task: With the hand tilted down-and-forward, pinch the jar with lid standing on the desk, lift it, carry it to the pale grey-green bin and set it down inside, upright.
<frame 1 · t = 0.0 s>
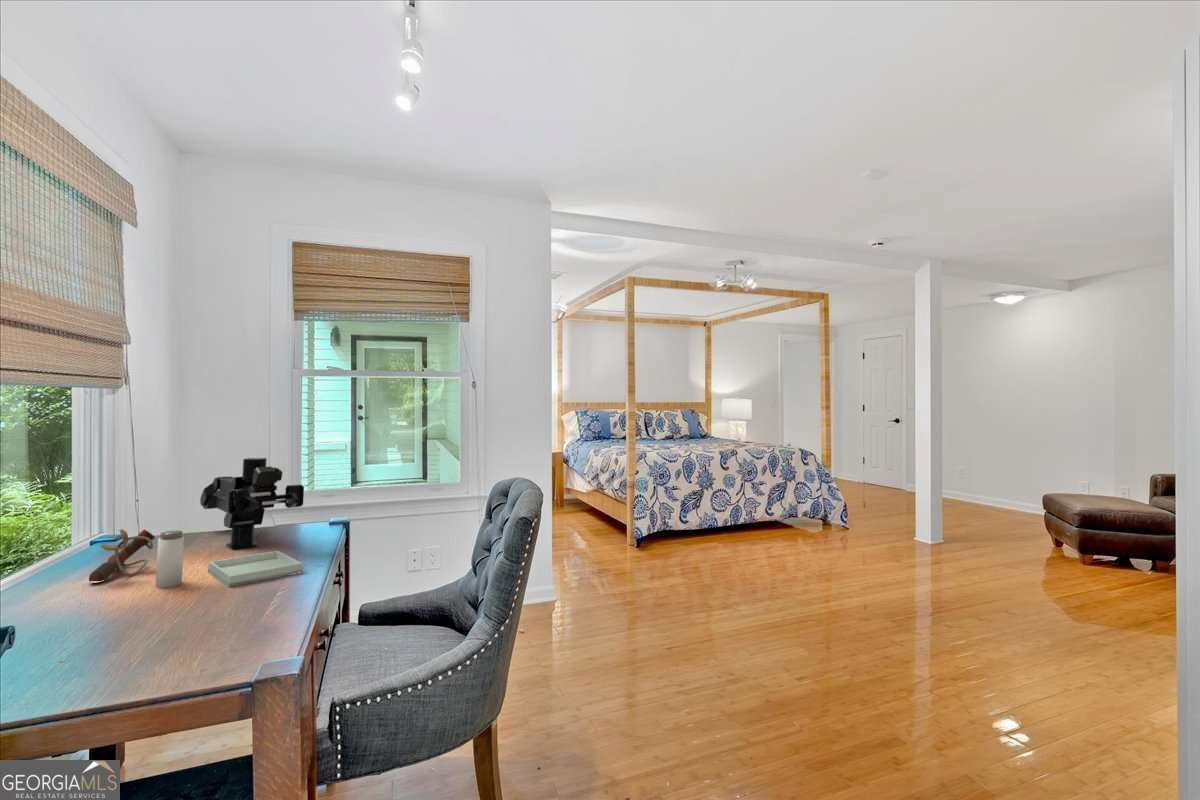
hand: (278, 502, 145), 17 cm above the table, tool horizontal, fingers open, 9 cm apart
bin: (255, 572, 138), on the table
slingshot: (125, 574, 133), on the table
jar with lid: (168, 584, 126), on the table
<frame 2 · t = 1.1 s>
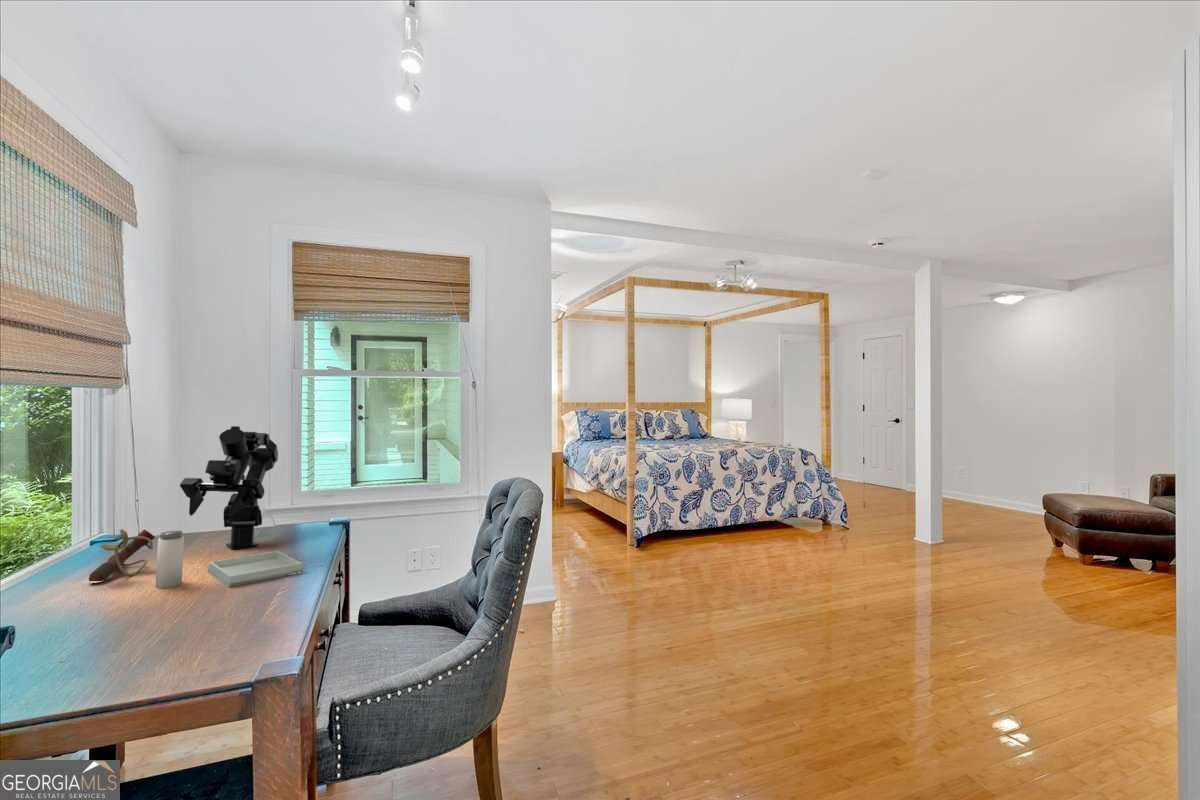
hand: (210, 514, 140), 14 cm above the table, tool tilted 45°, fingers open, 9 cm apart
nothing on the table moved.
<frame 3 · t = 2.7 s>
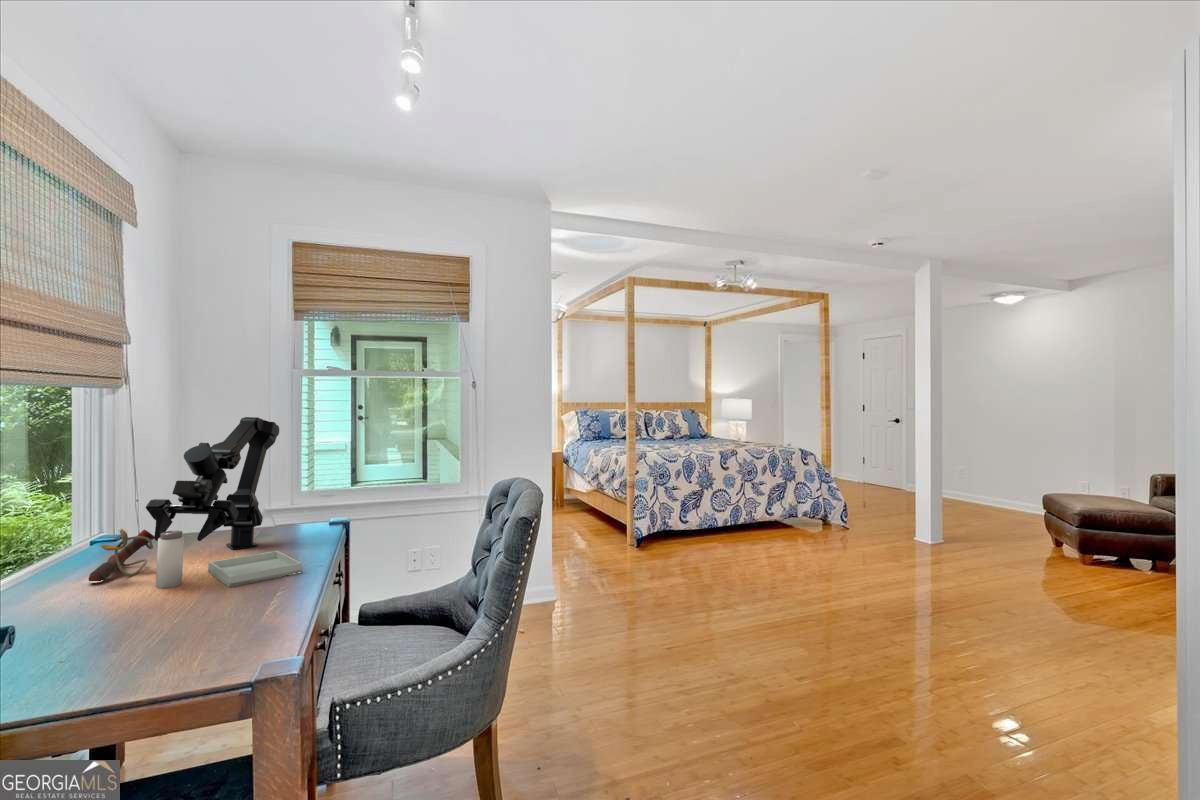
hand: (177, 540, 129), 10 cm above the table, tool tilted 45°, fingers open, 9 cm apart
nothing on the table moved.
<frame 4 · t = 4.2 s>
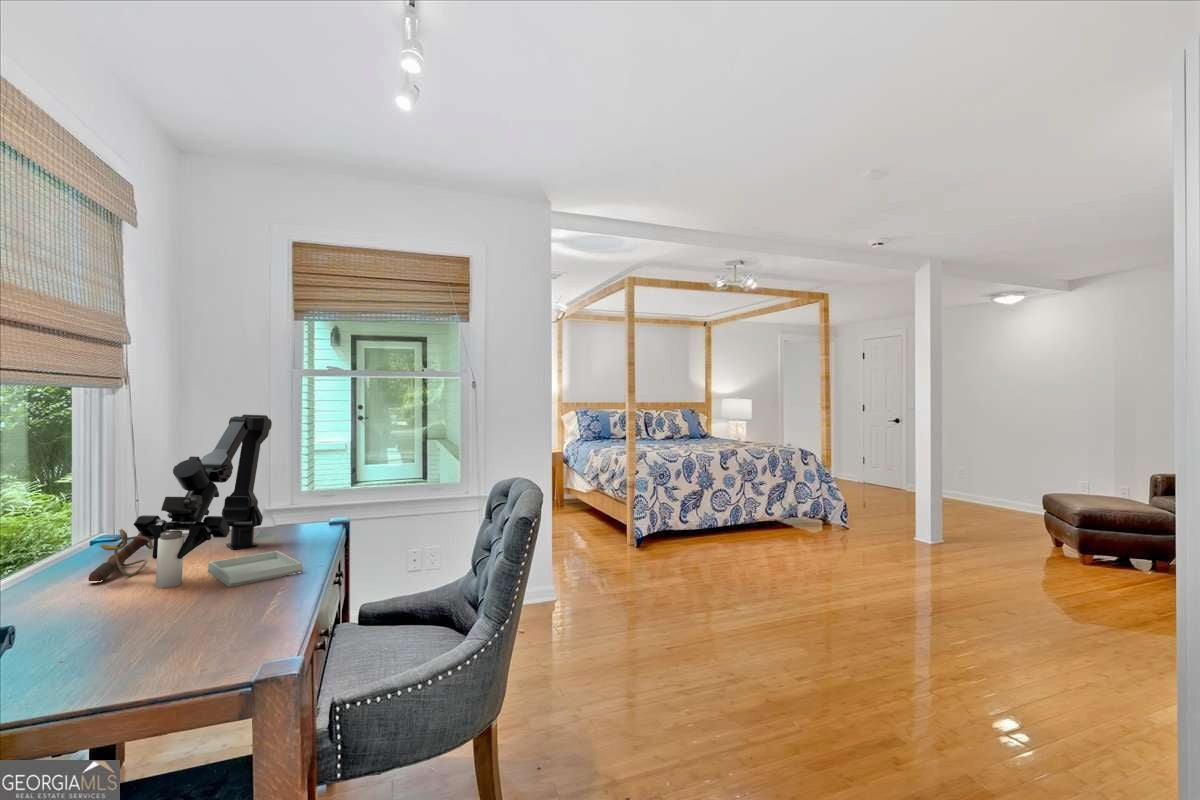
hand: (166, 558, 125), 7 cm above the table, tool tilted 45°, fingers closed on jar with lid, 5 cm apart
jar with lid: (168, 584, 126), on the table, touching gripper
everything else where it was.
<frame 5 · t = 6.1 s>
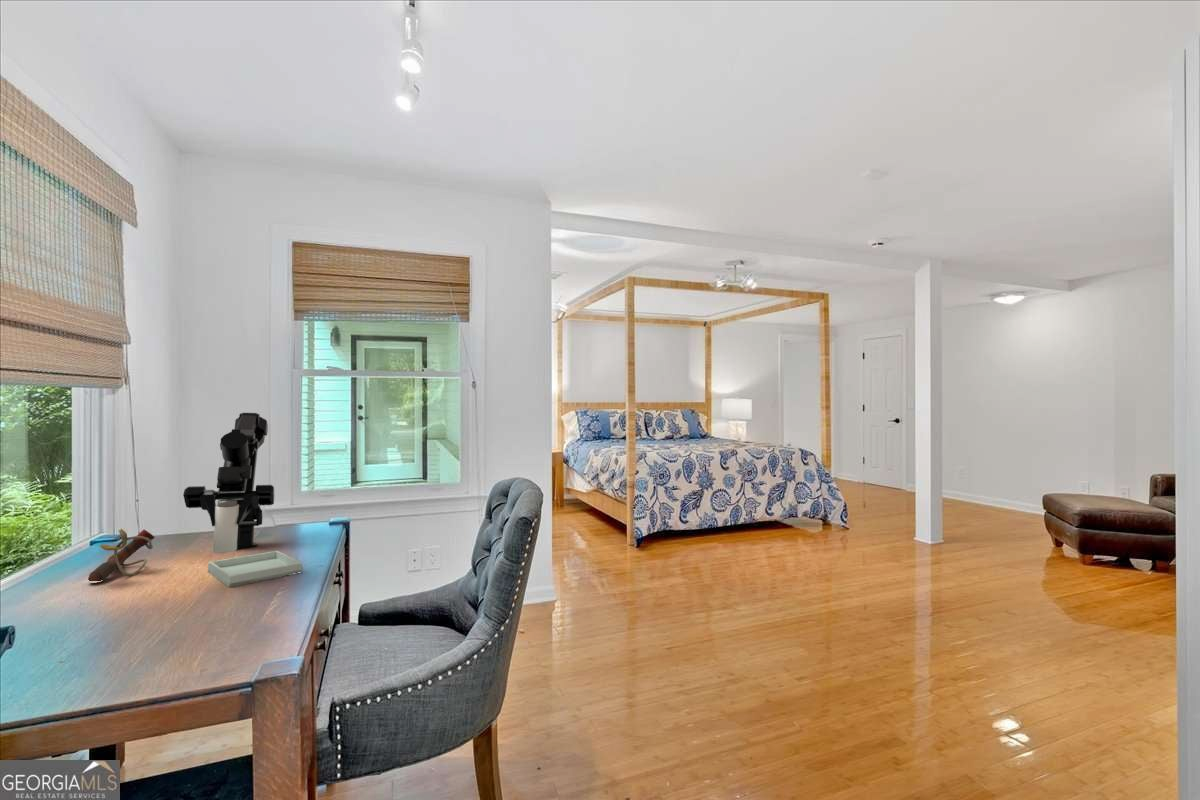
hand: (225, 524, 132), 13 cm above the table, tool tilted 45°, fingers closed on jar with lid, 5 cm apart
jar with lid: (225, 550, 133), point 7 cm above the table, touching gripper
everything else where it was.
when the fingers open (9 cm above the table, at t = 7.8 s): jar with lid drops 1 cm, resting on bin.
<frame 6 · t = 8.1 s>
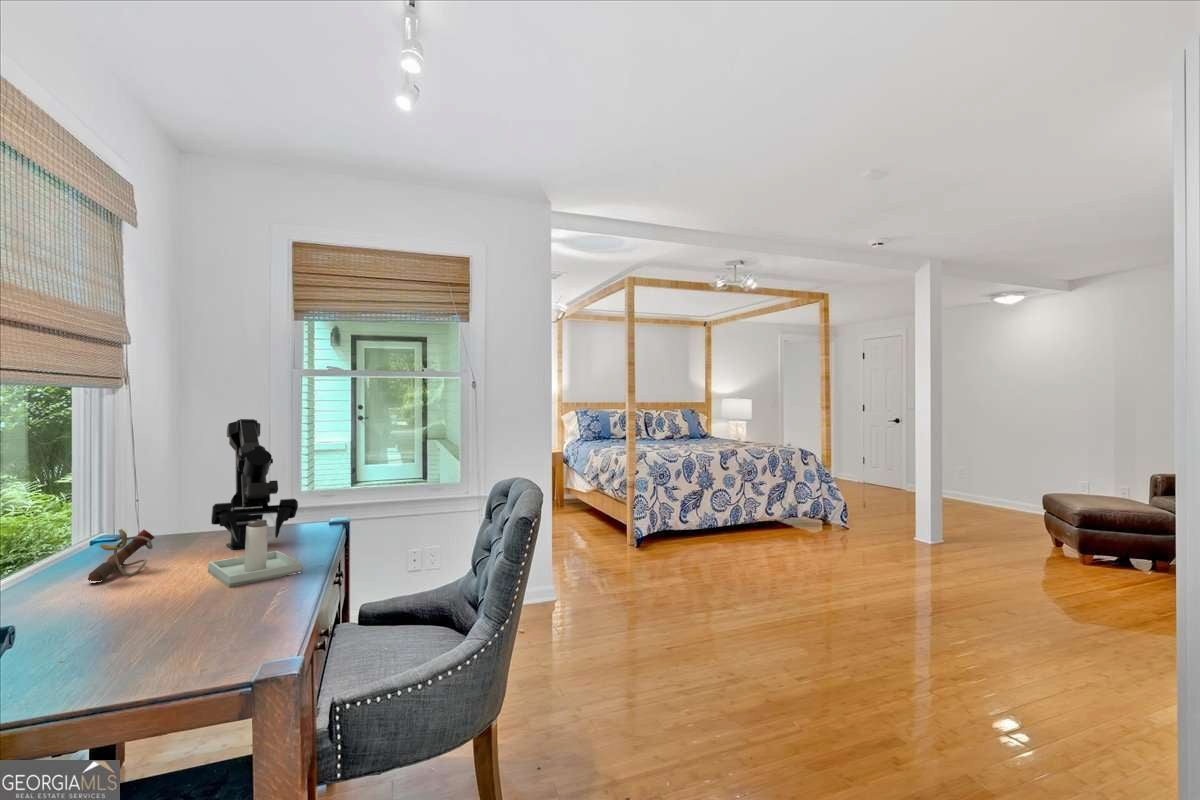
hand: (257, 538, 137), 9 cm above the table, tool tilted 45°, fingers open, 8 cm apart
jar with lid: (255, 569, 138), point 1 cm above the table, touching bin
everything else where it was.
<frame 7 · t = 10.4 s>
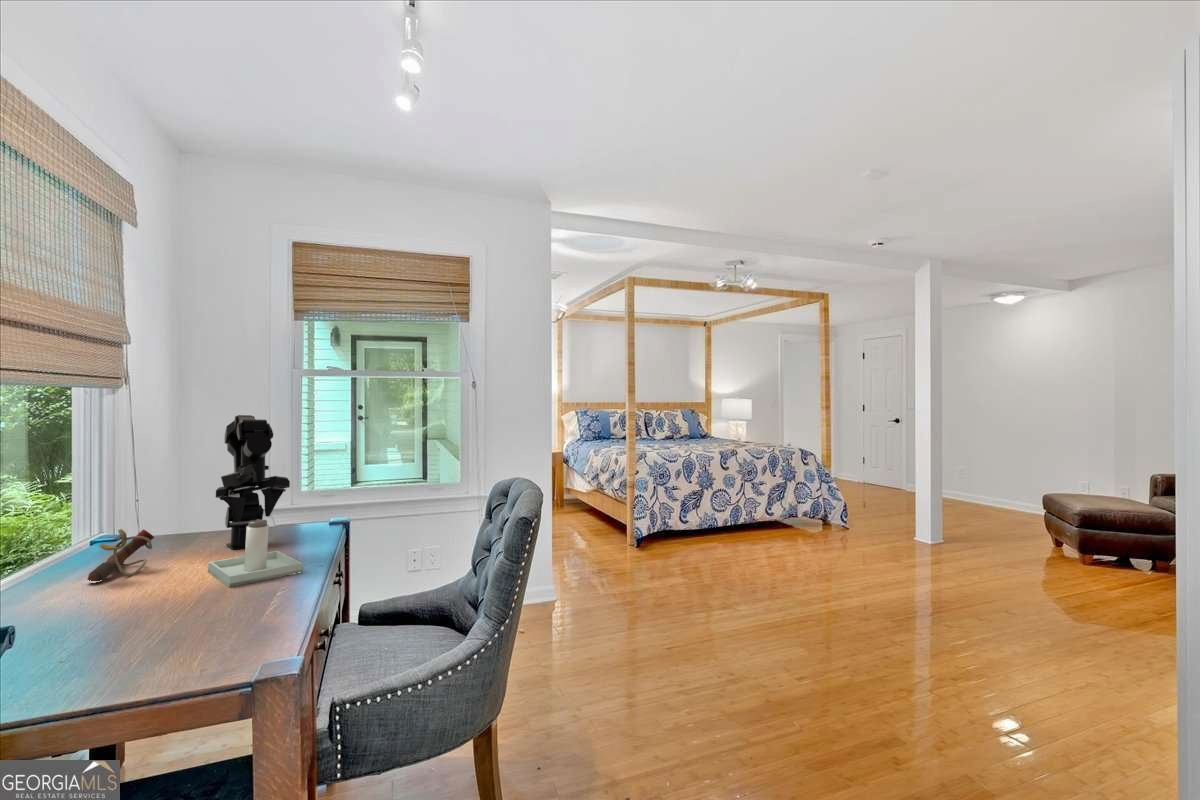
hand: (252, 519, 147), 11 cm above the table, tool tilted 20°, fingers open, 9 cm apart
nothing on the table moved.
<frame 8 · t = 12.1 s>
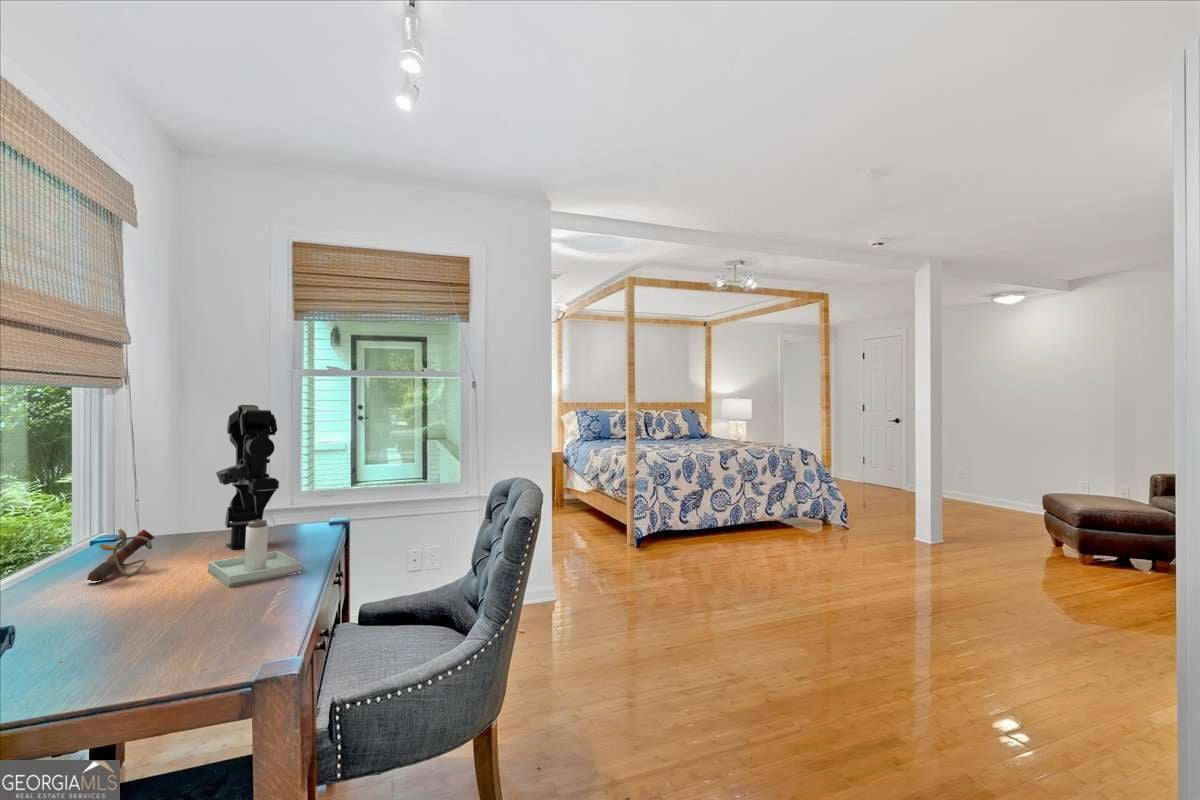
hand: (252, 512, 148), 13 cm above the table, tool pointing down, fingers open, 9 cm apart
nothing on the table moved.
at the end: jar with lid inside the target area on the bin (0.0 cm from its centre), point 0.8 cm above the bin's base; jar with lid tilted 0°; the gripper is holding nothing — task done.
